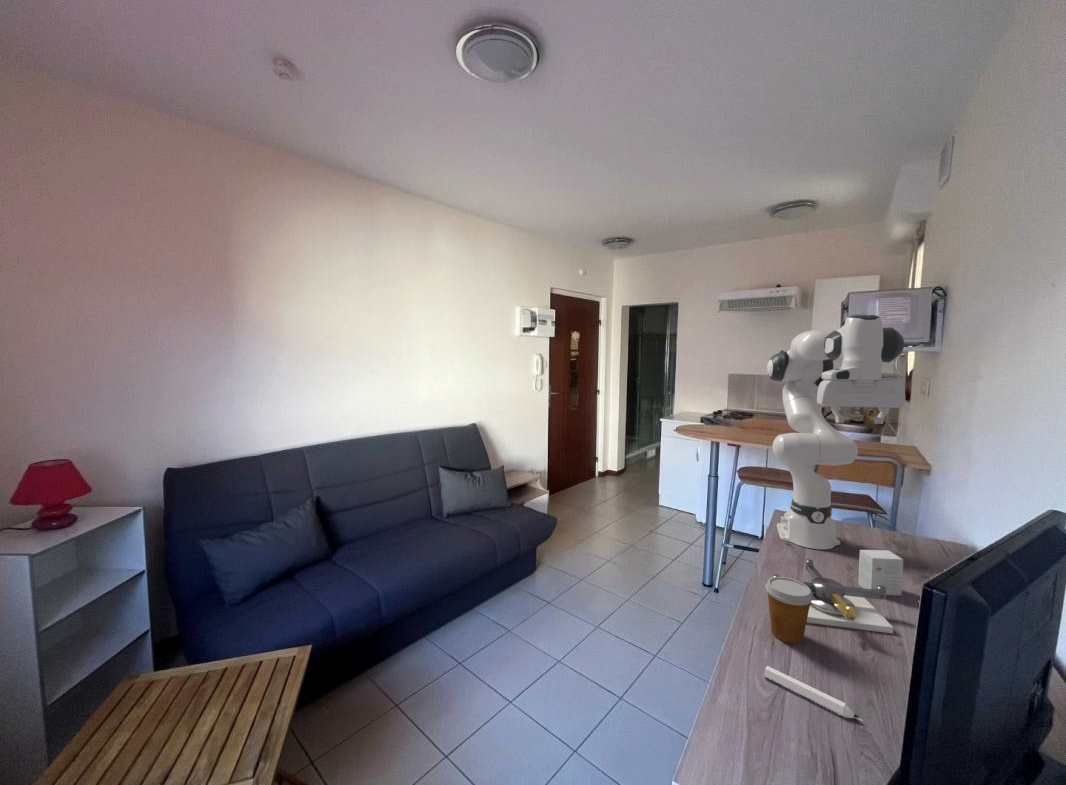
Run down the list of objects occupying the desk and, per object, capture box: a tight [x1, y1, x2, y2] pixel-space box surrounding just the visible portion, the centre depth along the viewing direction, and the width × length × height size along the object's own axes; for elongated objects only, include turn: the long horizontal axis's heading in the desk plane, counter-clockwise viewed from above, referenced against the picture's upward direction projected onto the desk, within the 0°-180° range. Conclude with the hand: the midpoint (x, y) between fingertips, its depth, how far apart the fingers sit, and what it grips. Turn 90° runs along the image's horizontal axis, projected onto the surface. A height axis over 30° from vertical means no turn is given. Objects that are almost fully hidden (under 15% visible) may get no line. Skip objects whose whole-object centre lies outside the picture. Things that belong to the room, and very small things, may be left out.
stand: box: [806, 596, 894, 634], centre depth 111 cm, size 18×20×4 cm
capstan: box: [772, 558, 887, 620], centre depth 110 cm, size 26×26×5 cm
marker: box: [763, 665, 864, 722], centre depth 81 cm, size 3×2×16 cm
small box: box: [858, 549, 904, 597], centre depth 118 cm, size 8×6×10 cm
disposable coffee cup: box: [764, 576, 813, 645], centre depth 99 cm, size 10×10×12 cm
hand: (858, 423), depth 118 cm, fingers open, 8 cm apart
